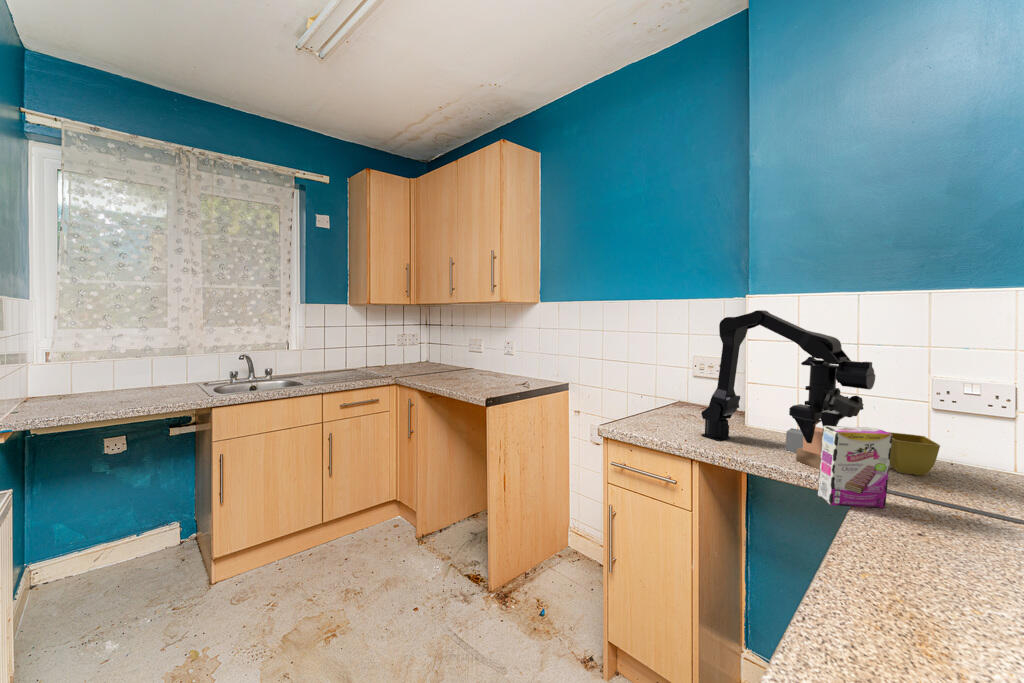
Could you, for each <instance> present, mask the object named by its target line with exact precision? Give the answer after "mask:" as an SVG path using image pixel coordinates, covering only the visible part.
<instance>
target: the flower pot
mask: <svg viewBox="0 0 1024 683" xmlns="http://www.w3.org/2000/svg"><path fill="white" fill-rule="evenodd" d="M887 432H888V433H891V434H892V443H891V453H890V464H889V466H890V467H891V468H892V469H894V470H895V471H896V472H897V473H900V474H906V475H907V474H908V475H915V476H920V477H923V476H925V475H927V474H928V473H929V472H930V471H931V470H932V469H933V467H934V466H935V464H936V461H937V457H938V454H939V451H940V448H941V444H939V443H937V442H935V441H933V440H932V439H930V438H929V437H927V436H925V435H917V434H911V433H910V434H909V433H900V432H899V433H898V432H891V431H890V432H889V431H887Z"/></svg>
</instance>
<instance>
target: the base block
mask: <svg viewBox="0 0 1024 683" xmlns="http://www.w3.org/2000/svg"><path fill="white" fill-rule="evenodd" d="M796 461H797V462H800V463H802V464H801V465H803V464H805V465H808V466H810V467H809V468H811V467H813V468H816V469H819V470H820V461H821V455H819V454H815V453H811V452H808V451H804V450H803V448H798V449H797V450H796V453H795V462H796ZM797 462H796V463H797ZM800 463H799V464H800ZM805 465H804V466H805ZM808 466H807V467H808ZM813 468H812V469H813ZM816 469H815V470H816ZM819 470H818V471H819Z"/></svg>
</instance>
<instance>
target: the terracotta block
mask: <svg viewBox="0 0 1024 683" xmlns="http://www.w3.org/2000/svg"><path fill="white" fill-rule="evenodd" d="M822 434H823V427H819V426H815V431H814V436H813V440H812V443H807V442H806V440H805V438H804V436H803V450H804V451H808V452H811V453H815V454H819V455H821V447H822Z"/></svg>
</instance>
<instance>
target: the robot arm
mask: <svg viewBox="0 0 1024 683" xmlns="http://www.w3.org/2000/svg"><path fill="white" fill-rule="evenodd" d="M758 326H761V327H763V328H765V329H767V330H769V331H772V332H773V333H774V334H777V335H778V336H782V337H784V338H786V339H787V340H790V341H792V342H794V343H795V344H797V345H798V346H799V347H800V348H801V349H802V350H803V351H804V352H806V353H807V354H808V355H810V356H808V357H807V358H806V359H805V360H804V361H802V362H801V363H800V364H801V365H802V366H810V367H809V380H808V382H809V383H808V384H809V385H806V386H805V391H808V398H807V400H805V401H804V404H801V403H800V404H795V405H794V404H793V405H792V406H790V407H789V410H788V414H789V416H790V417H791V418H792V419H794V420H795V422H796V424H797V426H798V428H799V430H801V432H802V434H803V436H804V438H805V440H806V442H807V443H812V440H813V436H814V431H815V427H817V425H818V424H819V423H821V424H822V427H823V426H838V425H839V422H840V421H841V420H842V419H844V418H848V419H849V418H853V417H857V416H858V415H859V413H860V411H862V410H864V404H863V398H862V397H861V396H858V395H852V396H851V397H849V396H844V395H842V394H841V389H840V387H837V383H839V384H840V385H841V386H842V387H847V388H853V389H854V388H855V389H863V390H869V391H870V390H872V389H873V388H874V385H875V382H876V373H875V369H874V367H873V362H872V361H853V360H851V359H850V357H849V356H848V355H847V354H846V353H845V351H844V350H843V348H842V344H841V341H840V340H839V339H838V338H837V337H834V336H831V335H827V334H824V333H819V332H815V331H811V330H807V329H805V328H802V327H800V326H799V325H797V324H794V323H792V322H790V321H788V320H786V319H783V318H781V317H778V316H777V315H774V314H772V313H770V312H769V311H768V310H765V309H764V310H763V309H761V310H760V309H759V310H754V311H752V312H749V313H746V314H742V315H738V316H726V317H724V318H722V319H721V320H720V322H719V326H718V328H719V329H718V330H719V338H720V340H721V343H722V347H721V357H720V364H719V371H718V379H717V386H716V389H715V391H714V392H713V393H712V395H711V398H710V400H709V404H708V407H706V408H705V409H704V410H703V411H701V412H700V414H701V416H702V417H701V418H702V419H703V420H704V433H701V435H700V436H702V437H705V438H708V439H711V440H715V441H724V440H728V439H731V436H730V425H729V420H728V419H731V418H732V417H733V416H732V415H733V414H735V413H736V412H737V411H738V409H739V408H740V400H741V395H737V394H736V392H735V383H736V376H737V371H738V370H737V368H738V361H739V354H740V347H741V344H742V343H743V341H744V340H745V338H746V336H747V333H748V330H750V329H754V328H756V327H758Z"/></svg>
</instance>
